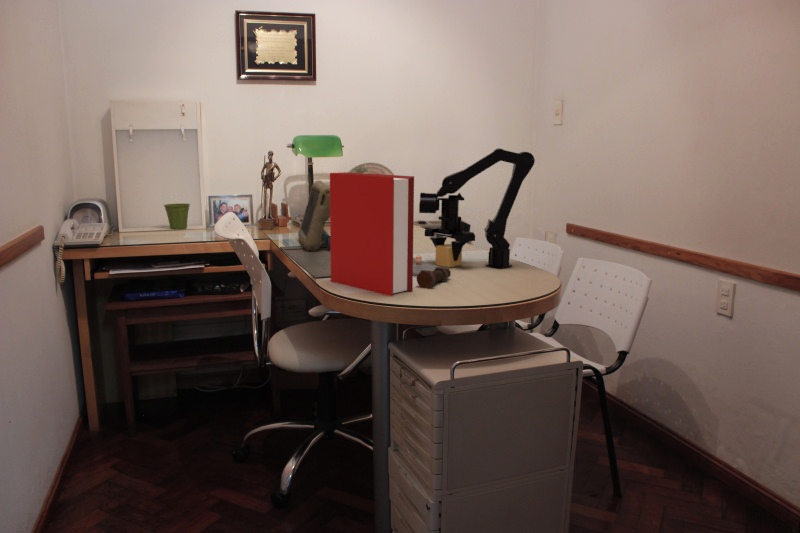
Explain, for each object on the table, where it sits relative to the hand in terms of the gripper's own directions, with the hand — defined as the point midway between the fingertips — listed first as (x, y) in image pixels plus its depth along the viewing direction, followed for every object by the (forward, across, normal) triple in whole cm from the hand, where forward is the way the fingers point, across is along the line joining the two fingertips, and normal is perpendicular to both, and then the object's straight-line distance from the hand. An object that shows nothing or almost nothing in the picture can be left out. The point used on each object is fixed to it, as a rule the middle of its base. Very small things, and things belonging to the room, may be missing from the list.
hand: (448, 259), depth 219 cm
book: (+2, -7, +40) cm, 41 cm away
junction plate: (+2, 0, +14) cm, 14 cm away
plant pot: (+2, +143, +34) cm, 147 cm away
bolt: (+2, -17, +23) cm, 28 cm away
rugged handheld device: (+2, +64, +11) cm, 65 cm away
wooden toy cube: (+2, 0, 0) cm, 2 cm away
